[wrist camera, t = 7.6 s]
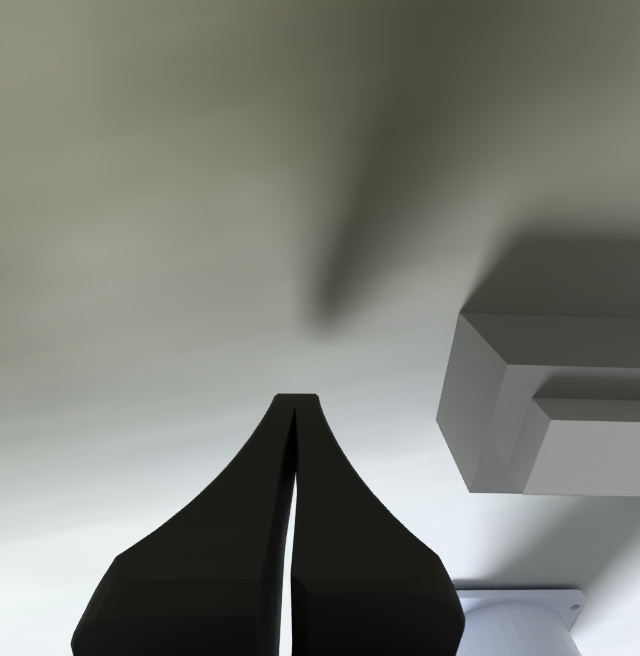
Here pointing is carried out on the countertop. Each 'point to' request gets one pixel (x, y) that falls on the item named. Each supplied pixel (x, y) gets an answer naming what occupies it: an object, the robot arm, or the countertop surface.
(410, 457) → the countertop surface
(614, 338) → the stepped grey block
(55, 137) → the countertop surface
